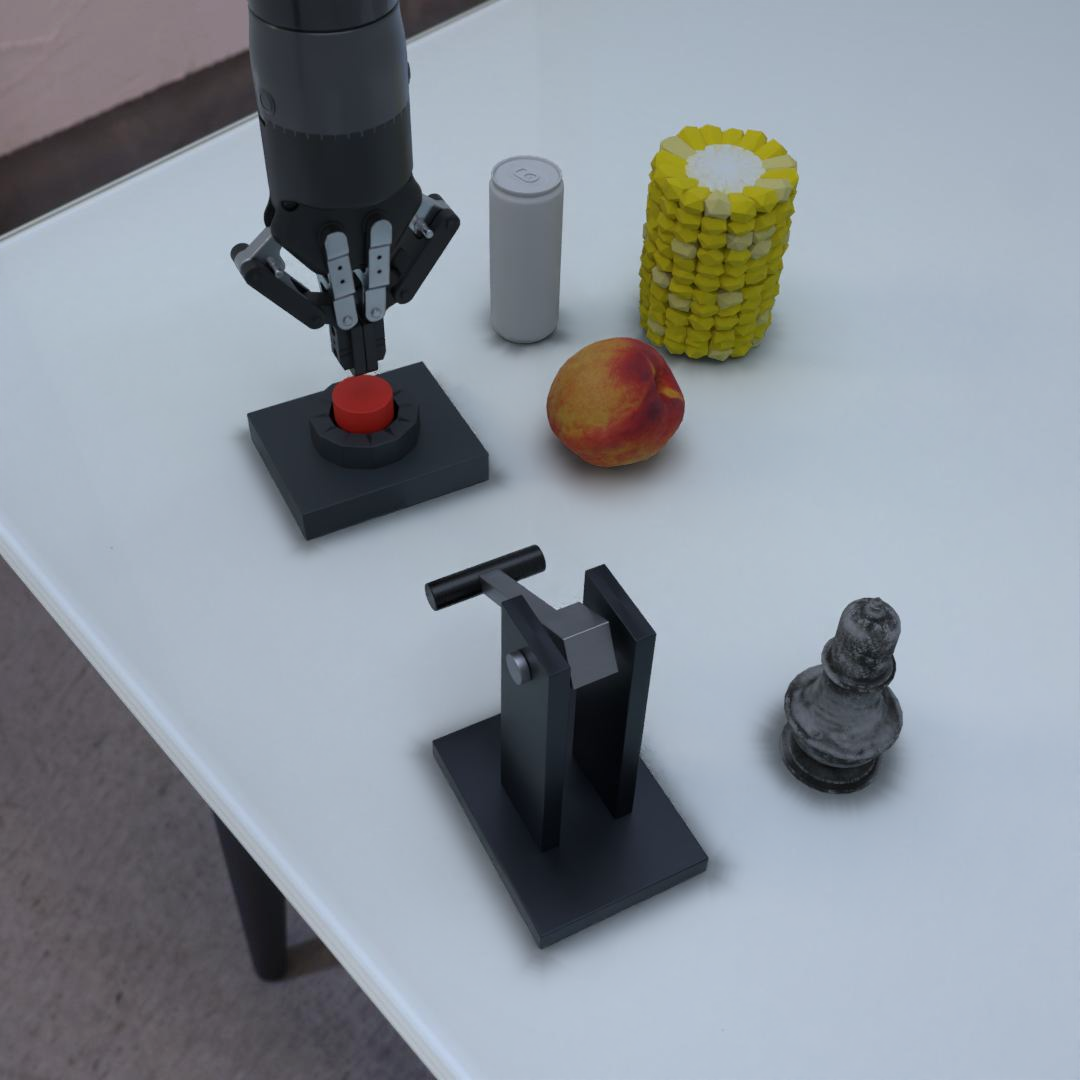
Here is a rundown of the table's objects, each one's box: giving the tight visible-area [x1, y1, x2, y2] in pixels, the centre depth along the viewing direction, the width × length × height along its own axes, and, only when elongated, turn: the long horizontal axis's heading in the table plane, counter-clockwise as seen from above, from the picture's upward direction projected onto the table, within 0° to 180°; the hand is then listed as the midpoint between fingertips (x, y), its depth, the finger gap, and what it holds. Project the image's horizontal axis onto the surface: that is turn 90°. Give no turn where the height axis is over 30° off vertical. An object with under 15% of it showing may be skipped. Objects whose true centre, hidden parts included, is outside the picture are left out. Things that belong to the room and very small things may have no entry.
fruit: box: [545, 336, 686, 468], centre depth 80 cm, size 8×8×8 cm
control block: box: [246, 360, 490, 541], centre depth 81 cm, size 12×10×4 cm
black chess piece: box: [779, 596, 904, 795], centre depth 64 cm, size 6×6×12 cm
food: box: [638, 123, 800, 362], centre depth 87 cm, size 15×12×10 cm
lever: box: [424, 544, 618, 690], centre depth 60 cm, size 12×6×2 cm, turn 28°
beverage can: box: [488, 154, 565, 344], centre depth 88 cm, size 5×5×12 cm
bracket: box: [431, 563, 710, 950], centre depth 60 cm, size 12×9×15 cm
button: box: [332, 374, 394, 434], centre depth 79 cm, size 4×4×2 cm
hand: (359, 365), depth 77 cm, fingers closed
